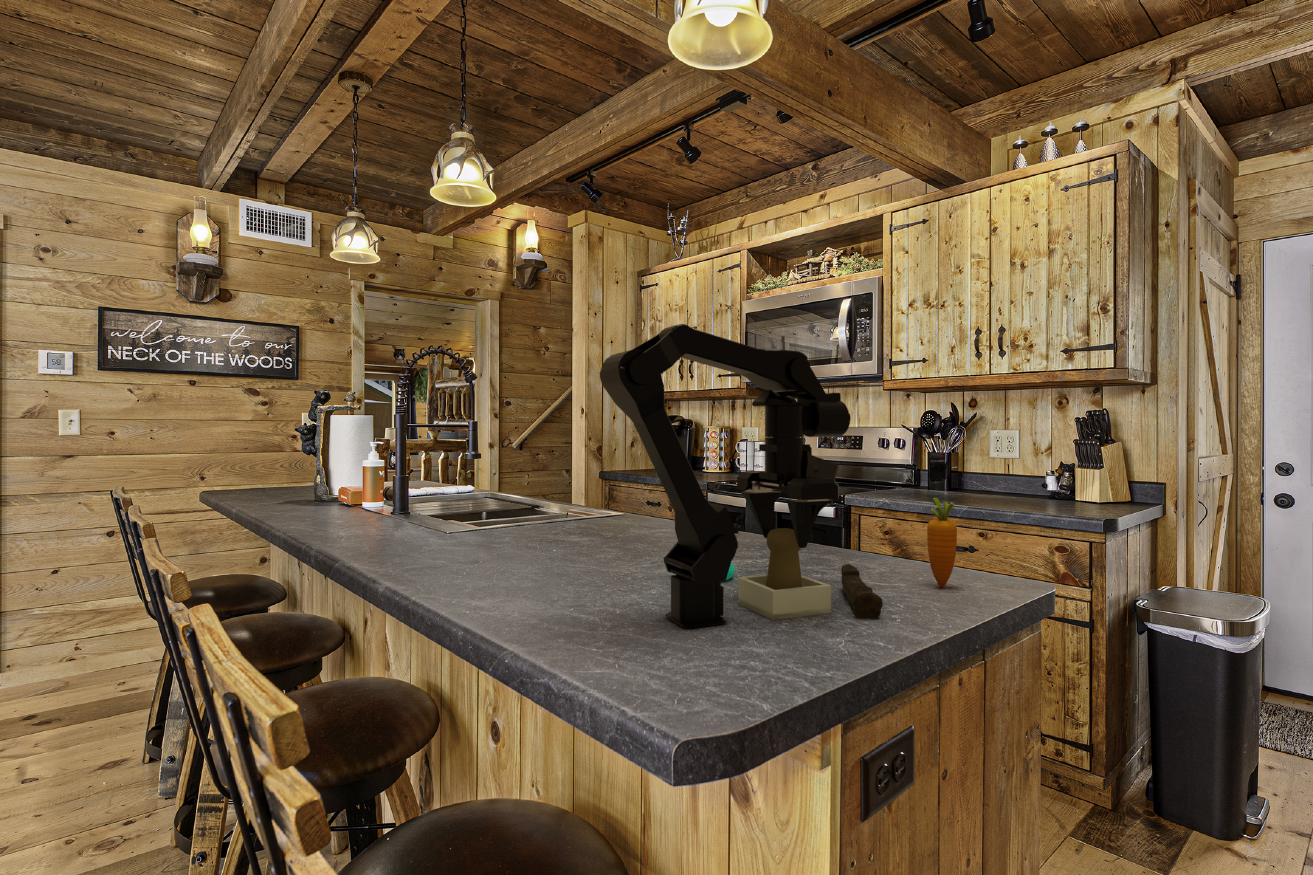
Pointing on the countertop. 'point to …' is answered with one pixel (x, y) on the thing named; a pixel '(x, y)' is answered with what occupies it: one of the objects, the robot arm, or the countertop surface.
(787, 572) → the cork
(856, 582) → the dark brown lumpy bar
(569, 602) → the countertop surface
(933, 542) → the carrot
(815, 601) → the tray
